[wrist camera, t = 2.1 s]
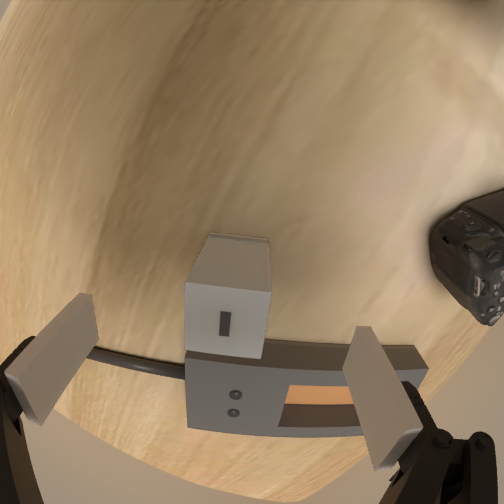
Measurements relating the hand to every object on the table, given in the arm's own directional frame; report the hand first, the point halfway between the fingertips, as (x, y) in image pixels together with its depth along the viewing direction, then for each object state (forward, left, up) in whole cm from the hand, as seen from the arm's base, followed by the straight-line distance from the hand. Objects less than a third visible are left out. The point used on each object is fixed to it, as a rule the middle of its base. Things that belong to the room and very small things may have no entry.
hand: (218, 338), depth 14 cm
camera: (-6, +21, -9) cm, 24 cm away
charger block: (0, 0, -9) cm, 9 cm away
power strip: (+11, +1, -9) cm, 14 cm away
